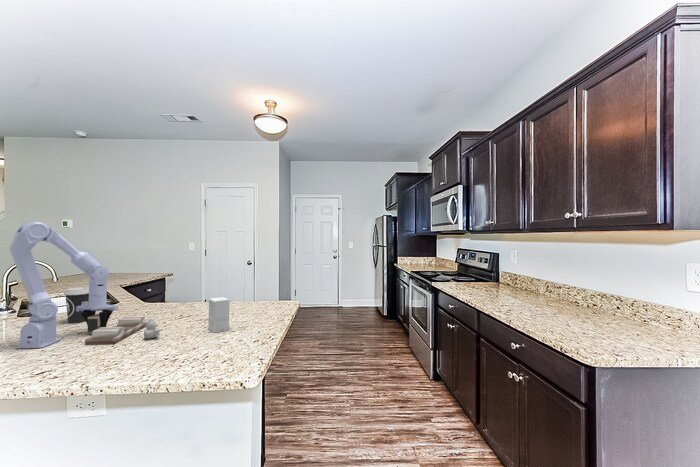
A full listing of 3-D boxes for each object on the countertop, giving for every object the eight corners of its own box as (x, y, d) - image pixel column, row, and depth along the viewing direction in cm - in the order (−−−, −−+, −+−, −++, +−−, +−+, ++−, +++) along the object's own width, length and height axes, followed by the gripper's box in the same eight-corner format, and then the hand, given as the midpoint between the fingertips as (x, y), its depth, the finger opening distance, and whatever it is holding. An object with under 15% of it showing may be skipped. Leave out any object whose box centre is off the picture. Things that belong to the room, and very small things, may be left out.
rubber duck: (151, 335, 128) (151, 315, 128) (164, 337, 126) (165, 316, 126) (139, 339, 122) (139, 318, 123) (153, 341, 121) (153, 320, 121)
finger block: (97, 334, 127) (97, 317, 127) (86, 335, 127) (86, 317, 127) (106, 330, 133) (106, 313, 133) (95, 330, 132) (96, 313, 132)
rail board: (114, 344, 117) (115, 332, 117) (84, 344, 116) (85, 333, 116) (150, 324, 143) (150, 314, 143) (125, 324, 142) (126, 315, 142)
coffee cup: (78, 324, 141) (79, 290, 141) (57, 324, 141) (58, 290, 141) (96, 319, 150) (97, 286, 150) (76, 318, 150) (77, 286, 150)
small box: (229, 330, 136) (229, 299, 136) (213, 333, 132) (214, 301, 132) (223, 326, 142) (223, 296, 142) (207, 328, 138) (208, 298, 138)
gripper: (122, 293, 135) (122, 325, 135) (85, 293, 133) (84, 326, 133) (112, 296, 128) (111, 330, 128) (72, 296, 126) (72, 331, 126)
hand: (97, 328), depth 130 cm, fingers closed on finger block, 4 cm apart
